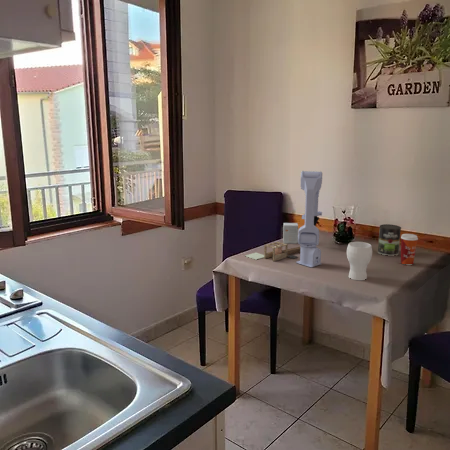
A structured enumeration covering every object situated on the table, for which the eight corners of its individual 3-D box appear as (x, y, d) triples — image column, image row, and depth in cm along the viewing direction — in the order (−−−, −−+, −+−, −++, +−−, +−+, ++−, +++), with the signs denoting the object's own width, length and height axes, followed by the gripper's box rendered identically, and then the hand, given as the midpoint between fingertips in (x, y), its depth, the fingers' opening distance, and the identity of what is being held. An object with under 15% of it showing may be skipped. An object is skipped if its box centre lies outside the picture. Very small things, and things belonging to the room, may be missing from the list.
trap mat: (298, 257, 228) (298, 256, 228) (293, 258, 226) (293, 258, 226) (292, 255, 231) (292, 254, 231) (287, 257, 229) (287, 256, 229)
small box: (297, 241, 257) (297, 222, 255) (297, 243, 252) (298, 225, 250) (282, 240, 258) (283, 222, 256) (283, 243, 253) (283, 225, 250)
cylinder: (283, 257, 228) (283, 245, 227) (278, 259, 226) (278, 247, 224) (277, 255, 231) (277, 244, 230) (272, 257, 229) (272, 245, 227)
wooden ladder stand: (287, 257, 229) (287, 244, 227) (273, 261, 222) (273, 248, 221) (277, 254, 233) (278, 241, 232) (264, 258, 227) (264, 245, 225)
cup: (365, 273, 205) (367, 241, 202) (373, 281, 195) (376, 248, 191) (342, 273, 205) (344, 241, 201) (349, 282, 195) (351, 248, 191)
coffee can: (399, 256, 229) (402, 229, 225) (378, 255, 231) (380, 228, 228) (397, 250, 238) (399, 224, 235) (376, 249, 241) (378, 223, 238)
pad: (267, 256, 229) (267, 256, 229) (255, 260, 224) (255, 259, 224) (255, 253, 235) (255, 252, 235) (244, 256, 230) (244, 255, 230)
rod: (308, 250, 240) (308, 246, 239) (281, 256, 231) (281, 252, 230) (304, 249, 242) (305, 245, 241) (278, 255, 233) (278, 251, 232)
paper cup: (405, 267, 213) (407, 238, 210) (394, 262, 221) (397, 234, 217) (419, 265, 215) (422, 236, 212) (408, 260, 223) (411, 232, 219)
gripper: (315, 202, 247) (313, 226, 251) (297, 206, 238) (296, 231, 241) (325, 204, 242) (324, 229, 245) (308, 208, 233) (307, 233, 236)
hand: (311, 230), depth 243 cm, fingers closed
